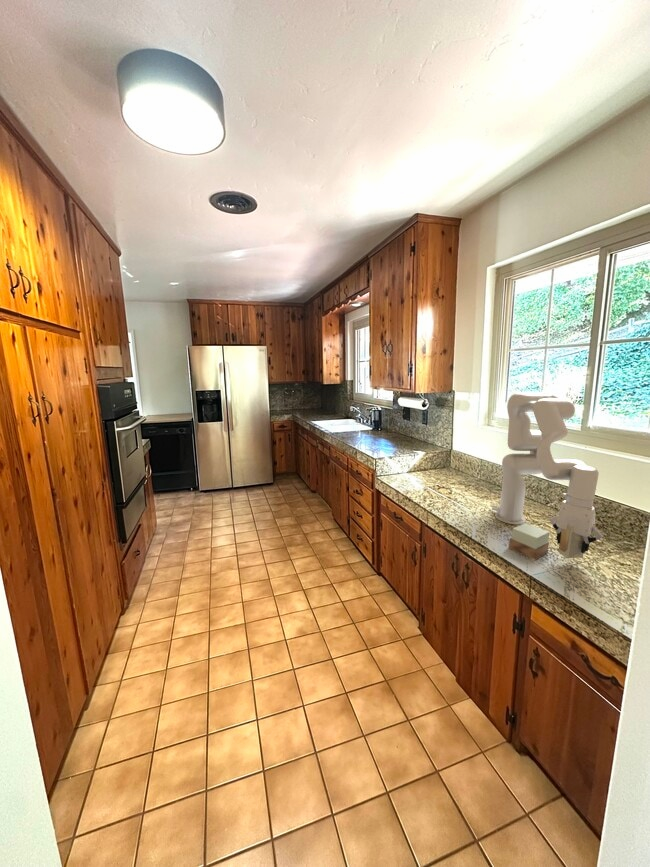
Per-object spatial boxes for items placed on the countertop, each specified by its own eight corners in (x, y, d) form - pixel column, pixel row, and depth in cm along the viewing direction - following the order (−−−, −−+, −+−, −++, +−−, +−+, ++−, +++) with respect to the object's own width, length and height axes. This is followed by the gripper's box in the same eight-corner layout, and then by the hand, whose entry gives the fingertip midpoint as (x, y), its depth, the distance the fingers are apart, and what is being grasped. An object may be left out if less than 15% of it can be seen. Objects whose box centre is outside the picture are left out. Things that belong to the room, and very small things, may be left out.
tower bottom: (508, 549, 136) (509, 539, 135) (521, 542, 141) (522, 532, 141) (535, 561, 128) (536, 549, 127) (547, 552, 133) (549, 542, 133)
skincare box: (574, 551, 126) (579, 520, 124) (583, 558, 122) (589, 526, 119) (557, 551, 126) (562, 521, 123) (565, 558, 122) (571, 527, 119)
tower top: (511, 539, 135) (512, 528, 134) (524, 533, 140) (525, 523, 139) (535, 549, 127) (536, 538, 127) (548, 542, 132) (549, 531, 131)
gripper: (547, 495, 124) (540, 540, 128) (606, 512, 110) (597, 562, 114) (556, 490, 128) (549, 534, 132) (614, 506, 115) (604, 554, 119)
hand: (571, 546), depth 123 cm, fingers closed on skincare box, 6 cm apart
